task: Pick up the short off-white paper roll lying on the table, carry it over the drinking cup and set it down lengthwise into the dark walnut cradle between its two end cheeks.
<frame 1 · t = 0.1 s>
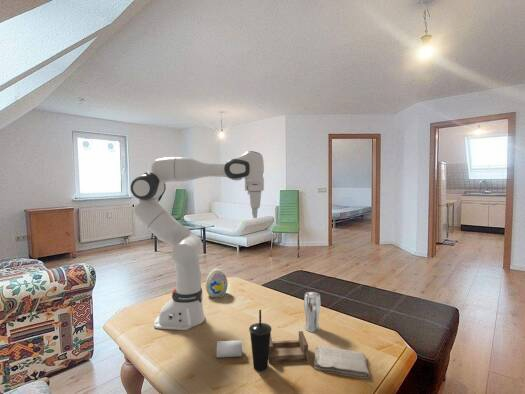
hand: (254, 216, 128), 48 cm above the table, fingers open, 8 cm apart
decorative egg: (216, 295, 157), on the table
washcloth: (340, 365, 97), on the table
silver tumbler: (312, 328, 120), on the table
roll: (229, 348, 102), point 2 cm above the table
cradle: (286, 354, 102), on the table
drinking cup: (260, 367, 95), on the table
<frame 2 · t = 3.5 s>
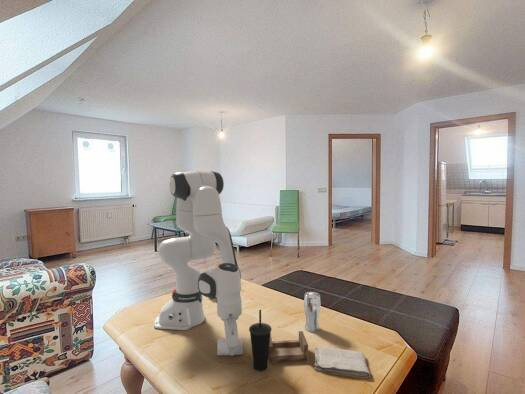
hand: (230, 346, 101), 4 cm above the table, fingers open, 8 cm apart
roll: (230, 347, 103), point 2 cm above the table, tilted 39°, touching gripper
everything else where it was.
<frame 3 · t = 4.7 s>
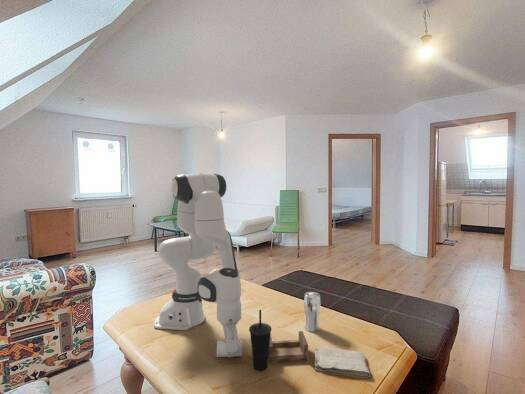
hand: (229, 350, 102), 2 cm above the table, fingers closed on roll, 6 cm apart
roll: (229, 348, 102), point 3 cm above the table, tilted 33°, touching gripper
everything else where it was.
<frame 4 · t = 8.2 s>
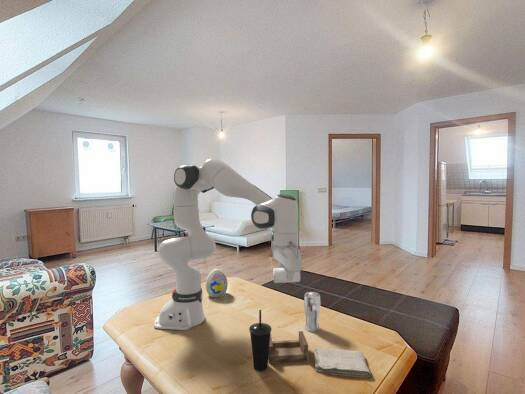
hand: (286, 276, 101), 29 cm above the table, fingers closed on roll, 6 cm apart
roll: (286, 275, 101), point 30 cm above the table, tilted 33°, touching gripper
everything else where it was.
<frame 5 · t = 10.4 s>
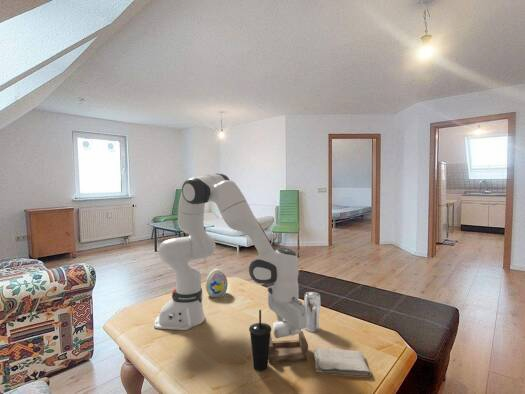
hand: (286, 329, 102), 9 cm above the table, fingers closed on roll, 6 cm apart
roll: (286, 328, 102), point 10 cm above the table, tilted 34°, touching gripper
everything else where it was.
when the fingers open (5 cm above the table, at t = 12.0 s): roll drops 1 cm, resting on cradle.
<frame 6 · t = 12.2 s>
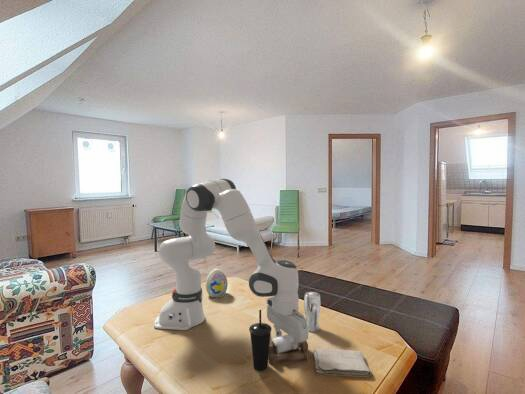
hand: (286, 341, 102), 5 cm above the table, fingers open, 8 cm apart
roll: (286, 342, 102), point 4 cm above the table, tilted 32°, touching cradle
everything else where it was.
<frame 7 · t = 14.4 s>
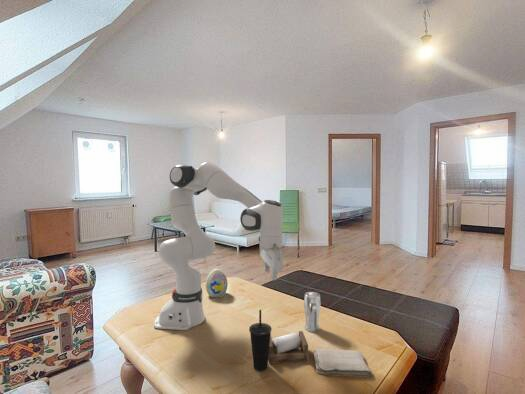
hand: (270, 275, 111), 26 cm above the table, fingers open, 8 cm apart
nothing on the table moved.
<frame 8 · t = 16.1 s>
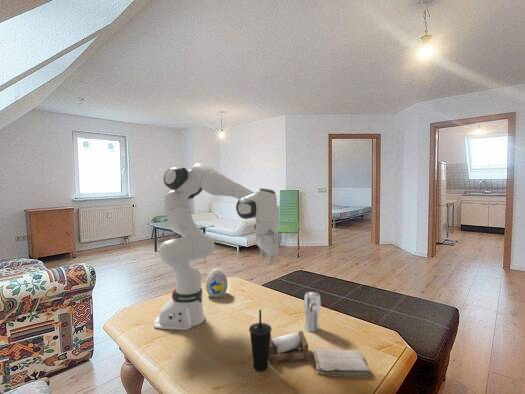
hand: (266, 261, 114), 31 cm above the table, fingers open, 8 cm apart
at the end: roll 0.1 cm off-centre on the cradle, point 4.3 cm above the cradle's base; the gripper is holding nothing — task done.
